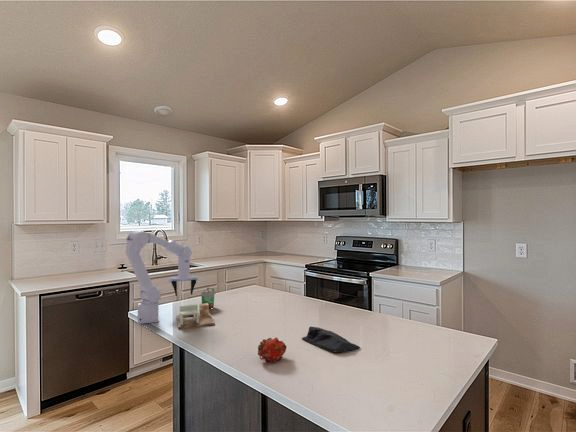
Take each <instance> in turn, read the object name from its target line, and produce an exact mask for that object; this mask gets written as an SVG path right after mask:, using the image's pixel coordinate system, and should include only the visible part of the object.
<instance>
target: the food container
mask: <svg viewBox="0 0 576 432" xmlns="http://www.w3.org/2000/svg"><path fill="white" fill-rule="evenodd" d="M215 289H216V288H211V287H207V288H206V290H204V291H202V292H200V293H201V294H200V295H201V304H203V303H208V305H209V309H211V308H213V307H214V305H215V295H216V293H217V292H216V290H215ZM213 309H214V308H213ZM211 310H212V309H211Z"/></svg>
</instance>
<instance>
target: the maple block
mask: <svg viewBox="0 0 576 432" xmlns="http://www.w3.org/2000/svg"><path fill="white" fill-rule="evenodd" d="M199 312H200V316H204V315H209V313H210V310H209V305H208V303H203V304H202V303H199Z"/></svg>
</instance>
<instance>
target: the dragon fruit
mask: <svg viewBox="0 0 576 432" xmlns="http://www.w3.org/2000/svg"><path fill="white" fill-rule="evenodd" d="M286 351H287V345H286V344H285V342H284V341H282V340H279V338H278V337H274V338H272V337H269V338H267V339H266V338H265V339H264V338H263V339H262V341H260V343H259V344H258V346H257V355H258V356H259V359H260V360H262V361H263V360H264V361H265V362H266V363H268V362H272V363H274V364H275V363H276V361H280V360H282V359H283V356H284V354H285V353H286Z"/></svg>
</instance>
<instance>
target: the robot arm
mask: <svg viewBox="0 0 576 432" xmlns="http://www.w3.org/2000/svg"><path fill="white" fill-rule="evenodd" d="M125 239H126V247H125V254H126V257H127V259H128V262H129V264H130V266H131V268H132V271H133V273H134V275H135V278H136V279H137V282H138V284H139V289H138V290H139V292H140V293H139V296H140V298H141V299H142V302H140V303H137V317H136V318H137V319H136V320H137V325H141V324H150V323H160V316H159V305H160V304H159V303H160V302H159V301H160V300H161V297H162V292H161V291H160V290H158V288H157V286H156V285H155V284H154V283H153V282H152V279H151V277H150V275H149V272H148V270H147V269H146V268H147V267H146V266H145V264H144V261H143V258H142V256H141V254H140V253H141V250H143V248H144V247H145V246H146V245H147V244H150V243H153V244H155V245H158V246H161V247H163V248H164V249H165V251H167V252H169V253H172V254H174V255H176V256H177V257H178V258H177V259H178V260H177V261H178V265H177V267H178V268H177V272H178V274H177V276H176V277H175V276H174V277H169V279H168V282H169V283H171V286H172V288H173V290H174V294H175V297H177V296H178V292H177V291H178V285H177V284H178V282H188V281H189V282H190V295H193V292H194V288H195V286H196V284H197V281H199V276H198V275H197V276H196V275H191V276H190V273H191V271H190V267H191V266H190V265H191V263H190V262H191V261H190V259H191V256H192V254H193V251H192V249H191V247H189V246H186V245H184V244H183V243H179V242H177V240H175V239H173V240H172V239H170V240H165V239H164V238H161V237H159V236H157V235H155V234H152V233H150V232H147V231H137V230H133V231H131V232H129V234H128V235H127V237H126V238H125Z"/></svg>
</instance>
